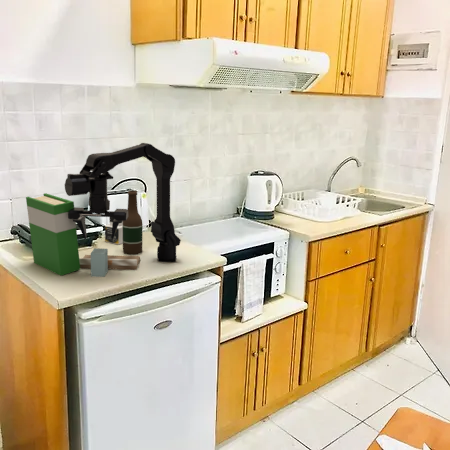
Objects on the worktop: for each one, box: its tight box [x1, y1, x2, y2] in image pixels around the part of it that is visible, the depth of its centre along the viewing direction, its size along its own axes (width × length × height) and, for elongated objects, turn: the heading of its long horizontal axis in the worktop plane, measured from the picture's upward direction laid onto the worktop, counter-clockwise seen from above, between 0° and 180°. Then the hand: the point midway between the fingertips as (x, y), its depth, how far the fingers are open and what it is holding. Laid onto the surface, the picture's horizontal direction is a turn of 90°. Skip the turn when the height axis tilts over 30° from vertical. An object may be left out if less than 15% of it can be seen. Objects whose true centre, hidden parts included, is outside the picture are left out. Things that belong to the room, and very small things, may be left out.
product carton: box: [90, 247, 109, 278], centre depth 172 cm, size 5×6×8 cm
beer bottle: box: [122, 190, 143, 256], centre depth 195 cm, size 8×8×24 cm
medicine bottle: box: [104, 217, 123, 245], centre depth 209 cm, size 7×7×12 cm
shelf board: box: [79, 254, 141, 271], centre depth 182 cm, size 20×11×4 cm, turn 93°
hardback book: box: [25, 193, 81, 277], centre depth 174 cm, size 18×7×24 cm, turn 48°
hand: (99, 239), depth 170 cm, fingers open, 9 cm apart
